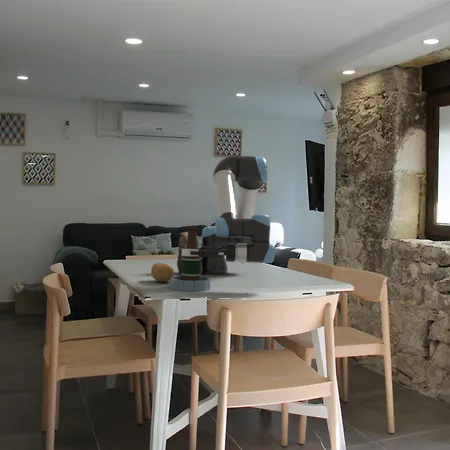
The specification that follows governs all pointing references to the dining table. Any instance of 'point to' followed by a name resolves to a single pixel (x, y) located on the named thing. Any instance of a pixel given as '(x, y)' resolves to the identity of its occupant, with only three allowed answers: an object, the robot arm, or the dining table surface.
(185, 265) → the beer bottle
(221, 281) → the dining table surface
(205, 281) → the bowl
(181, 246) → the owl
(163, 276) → the potato
